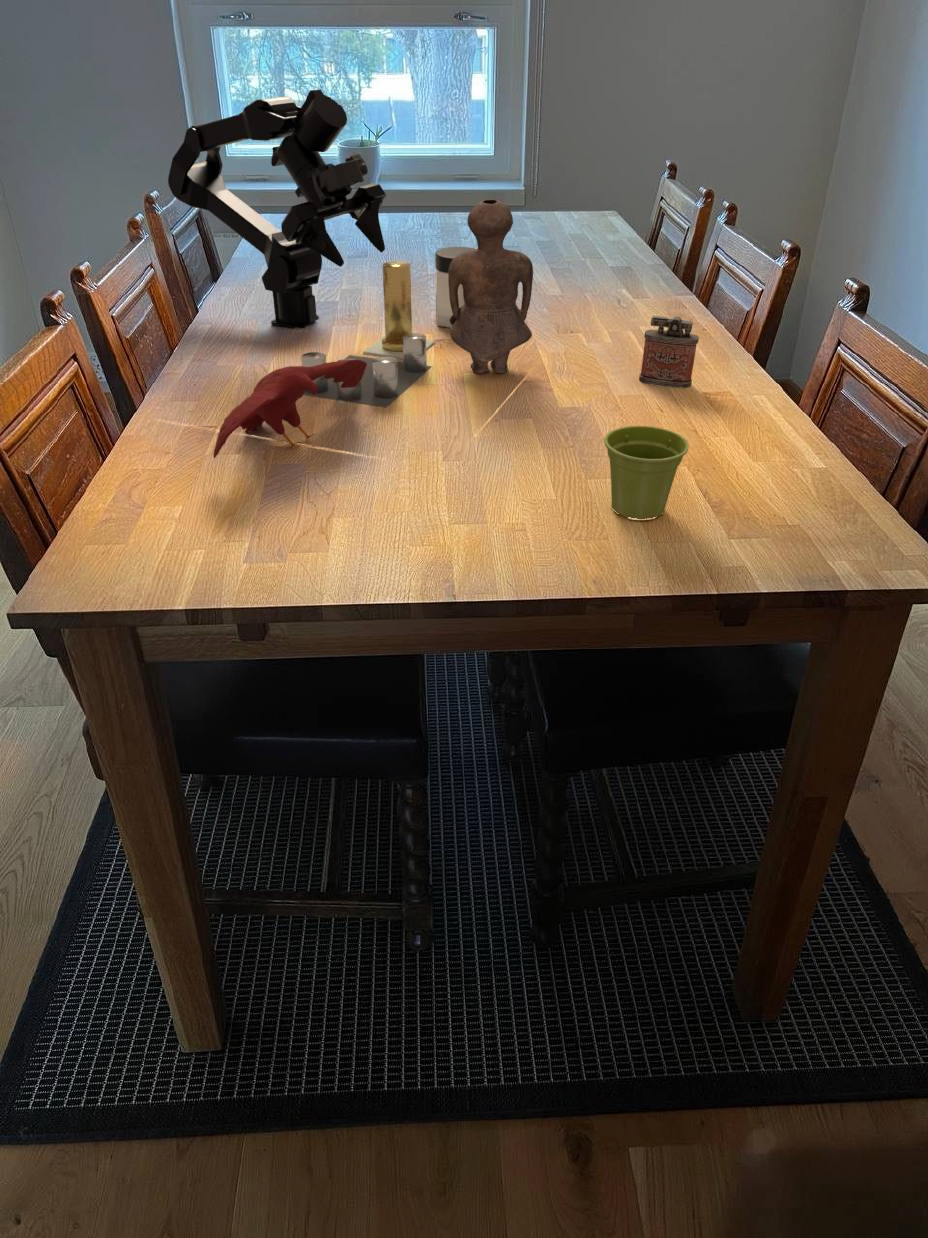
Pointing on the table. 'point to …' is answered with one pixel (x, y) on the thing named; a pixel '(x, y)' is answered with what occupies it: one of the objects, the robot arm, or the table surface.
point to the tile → (379, 351)
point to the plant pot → (643, 468)
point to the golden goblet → (396, 304)
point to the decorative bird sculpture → (285, 397)
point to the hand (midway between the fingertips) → (363, 257)
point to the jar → (446, 284)
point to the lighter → (669, 353)
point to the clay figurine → (490, 291)
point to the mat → (368, 386)
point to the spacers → (377, 369)
